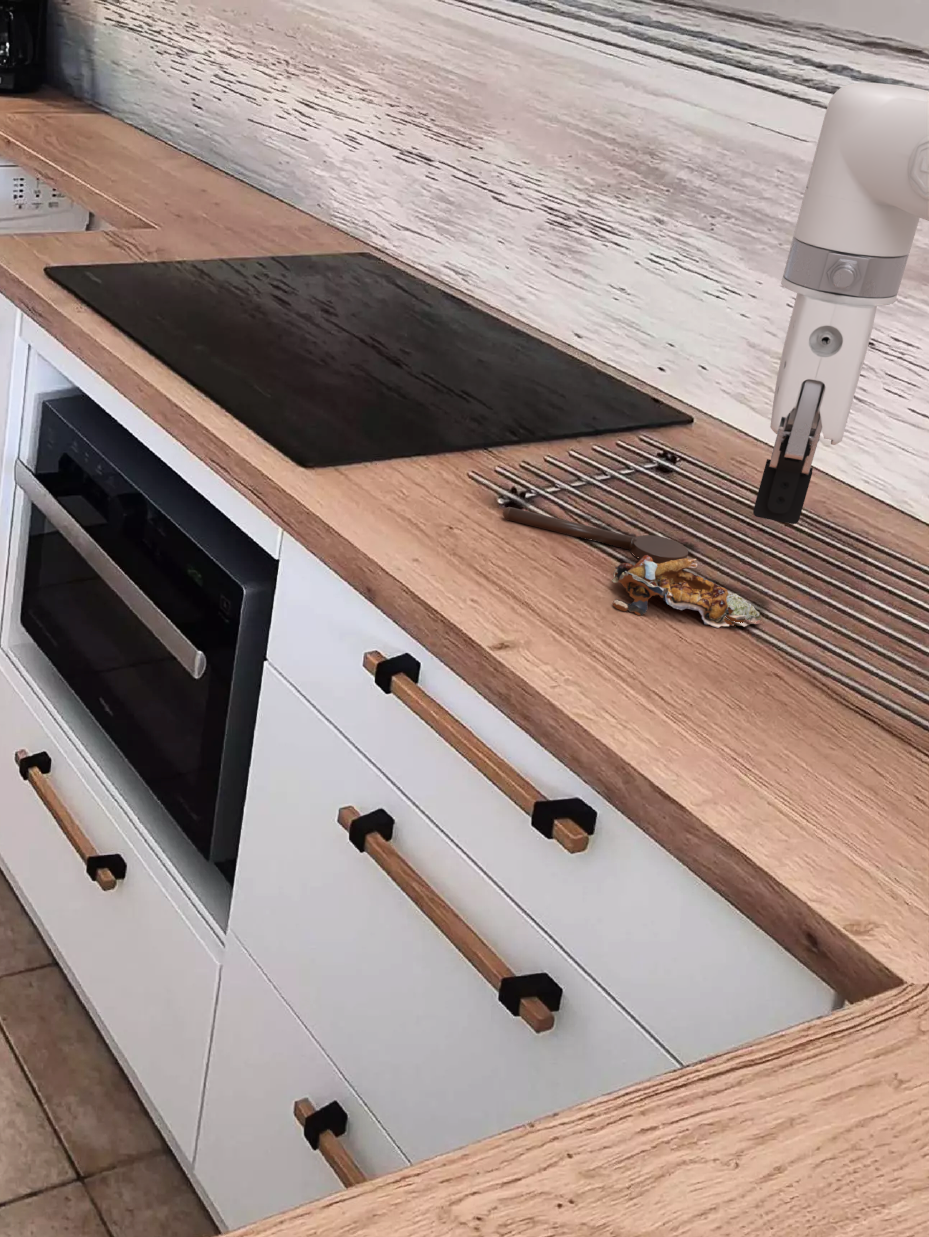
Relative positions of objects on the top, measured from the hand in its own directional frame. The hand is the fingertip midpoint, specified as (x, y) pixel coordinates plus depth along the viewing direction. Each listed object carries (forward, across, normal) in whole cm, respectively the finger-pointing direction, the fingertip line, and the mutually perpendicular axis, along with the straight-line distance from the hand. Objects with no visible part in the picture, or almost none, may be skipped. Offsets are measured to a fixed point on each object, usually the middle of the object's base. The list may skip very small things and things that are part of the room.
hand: (775, 516), depth 125 cm
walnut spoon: (+12, +21, +13) cm, 27 cm away
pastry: (+13, +11, +5) cm, 18 cm away
